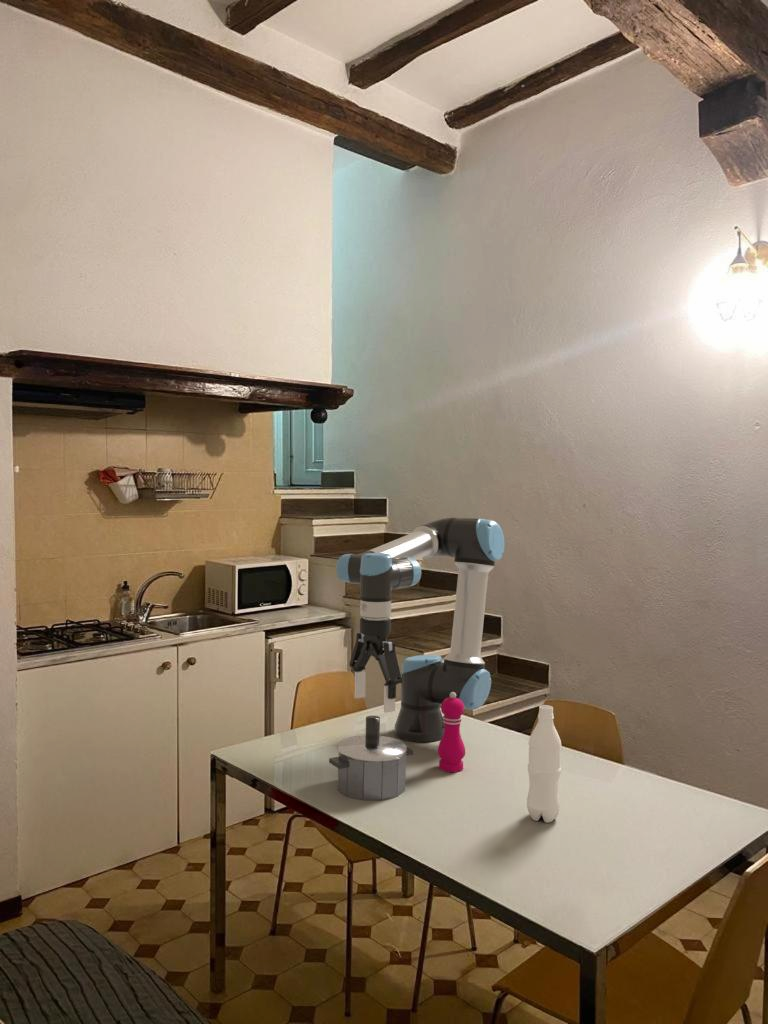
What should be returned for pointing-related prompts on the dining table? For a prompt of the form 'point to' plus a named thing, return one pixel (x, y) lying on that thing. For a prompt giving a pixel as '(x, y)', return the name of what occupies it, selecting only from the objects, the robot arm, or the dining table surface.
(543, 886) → the dining table surface
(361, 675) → the robot arm
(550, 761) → the water bottle
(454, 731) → the pepper mill
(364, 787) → the pot
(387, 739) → the lid
